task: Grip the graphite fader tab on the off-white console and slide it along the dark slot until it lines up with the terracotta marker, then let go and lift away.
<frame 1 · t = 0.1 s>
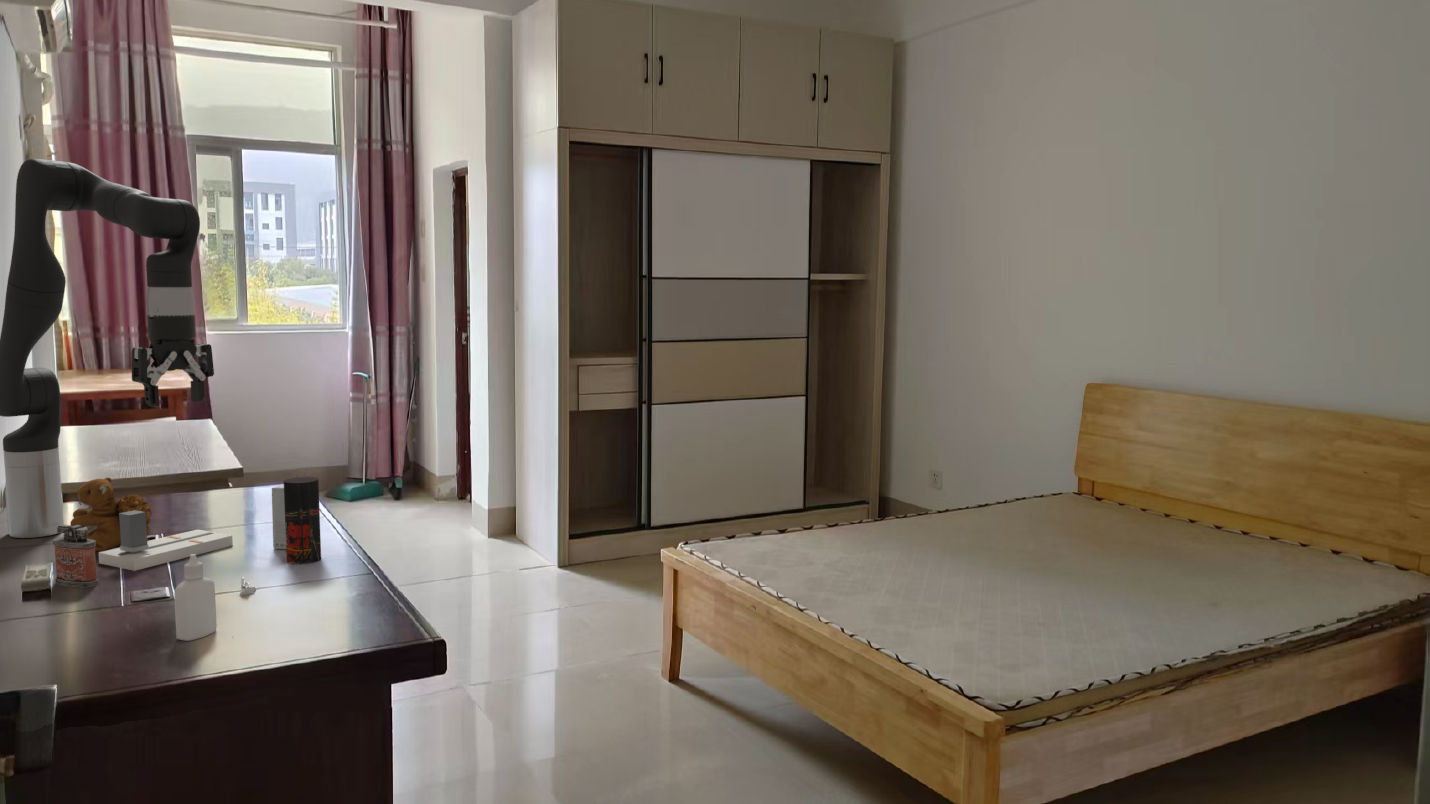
hand: (175, 403, 184), 29 cm above the table, fingers open, 8 cm apart
eye dropper bottle: (197, 636, 150), on the table
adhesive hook: (255, 596, 170), on the table
skincare box: (292, 546, 200), on the table
deodorant: (304, 560, 190), on the table
console: (168, 554, 193), on the table
stuffed squirrel: (115, 546, 200), on the table
lighter: (77, 584, 174), on the table
fader: (133, 531, 187), point 6 cm above the table, slide at 0.0 cm
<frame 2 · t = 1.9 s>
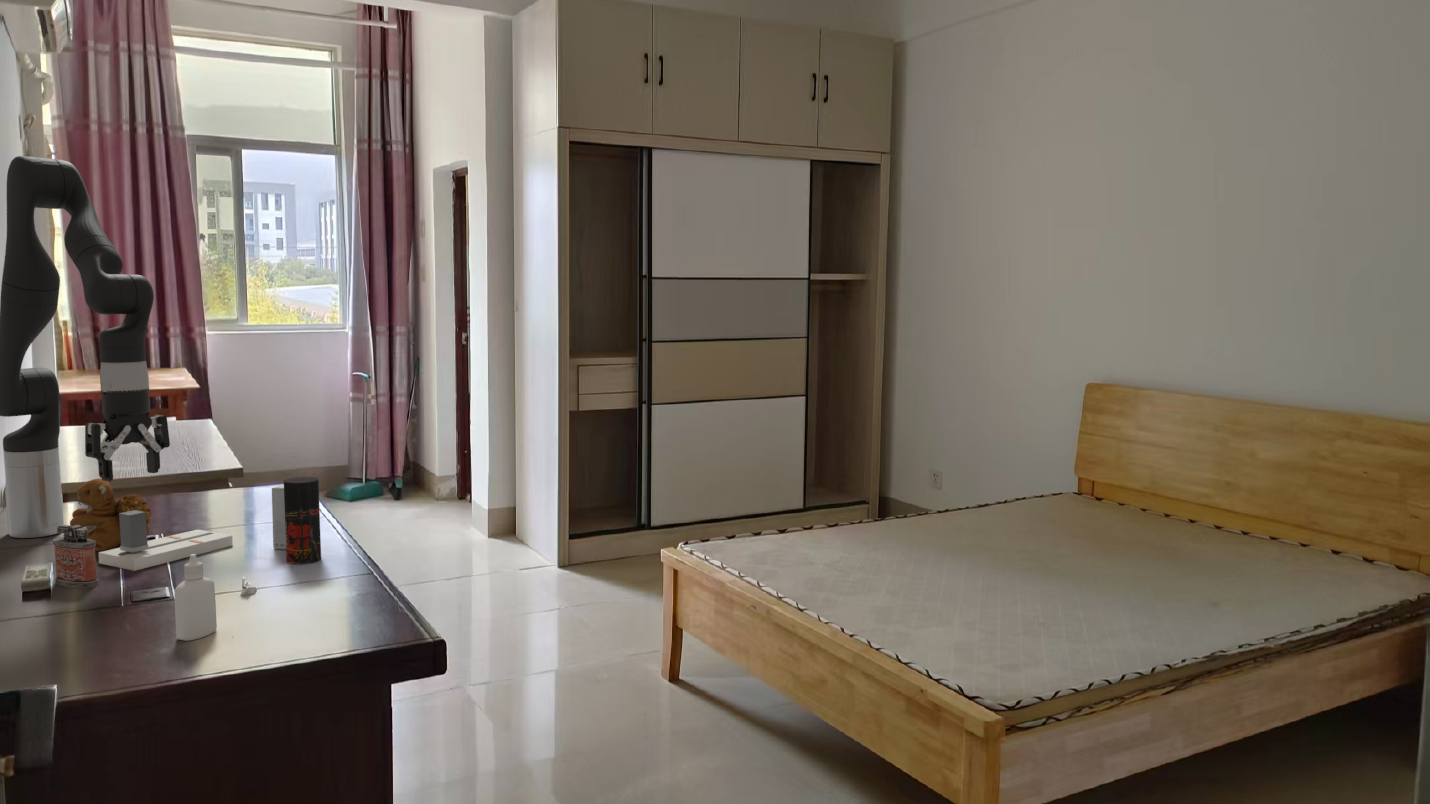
hand: (130, 476, 186), 16 cm above the table, fingers open, 8 cm apart
nothing on the table moved.
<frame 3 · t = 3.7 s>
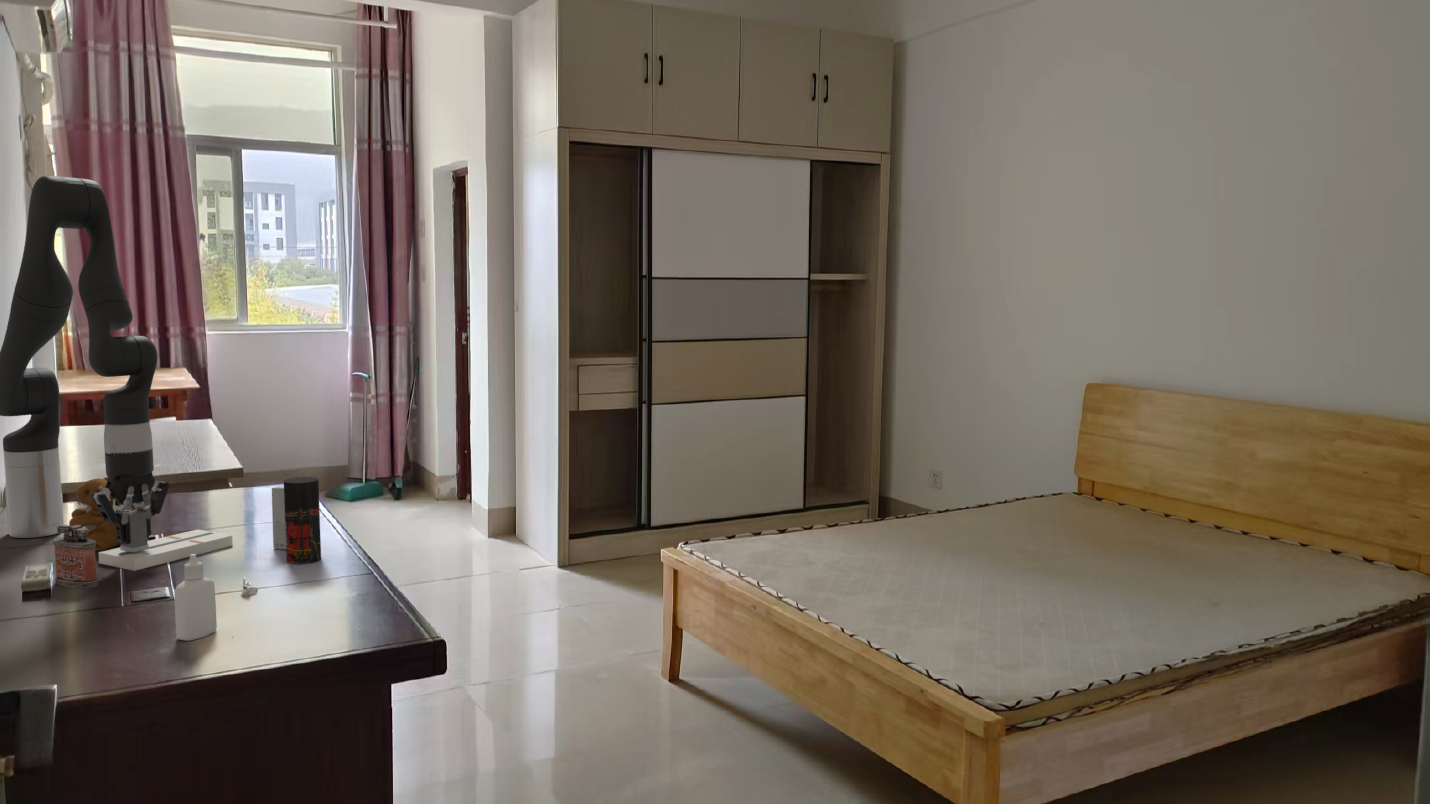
hand: (134, 541, 187), 4 cm above the table, fingers closed on fader, 3 cm apart
fader: (133, 531, 187), point 6 cm above the table, slide at 0.0 cm, touching gripper
everything else where it was.
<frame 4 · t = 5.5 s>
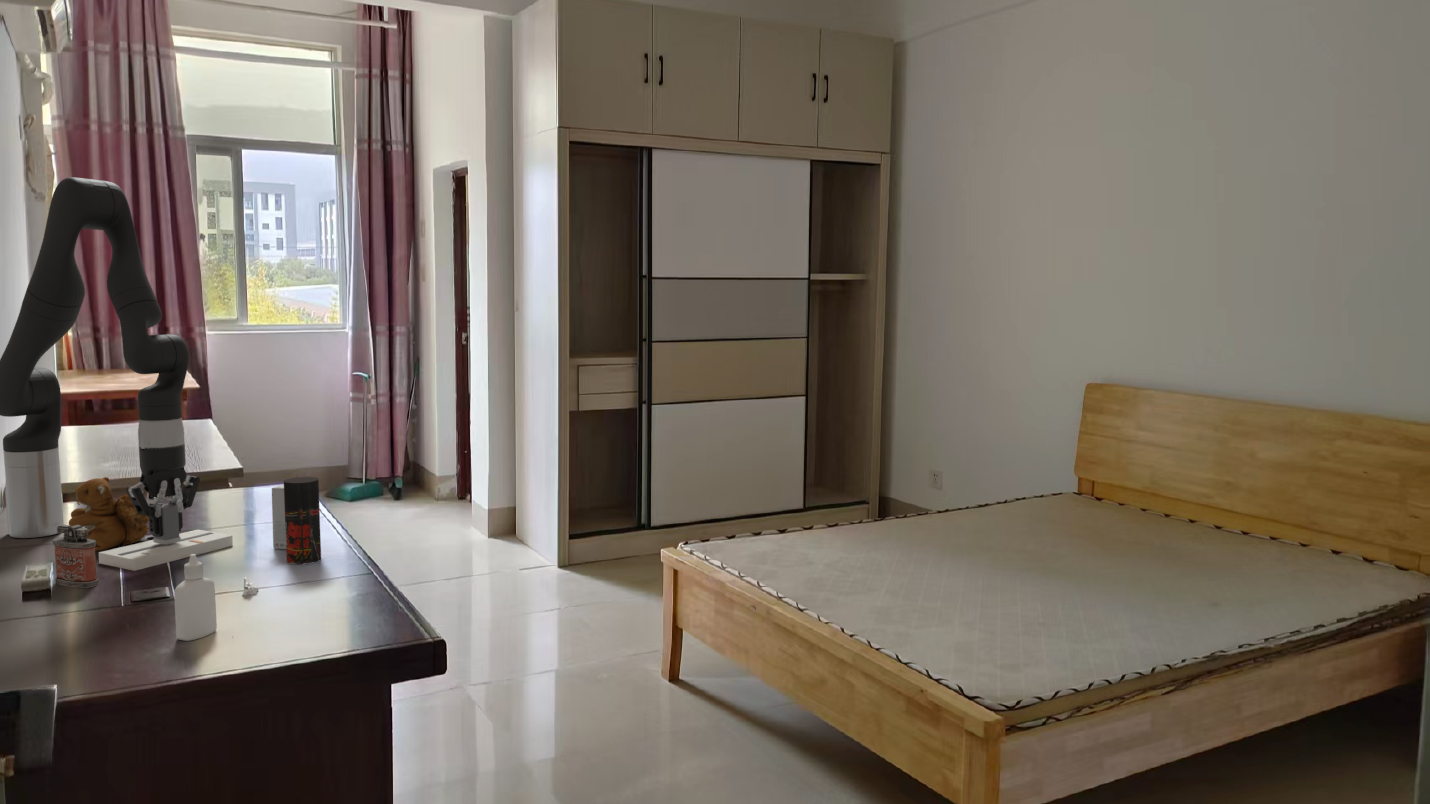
hand: (166, 533, 193), 4 cm above the table, fingers closed on fader, 3 cm apart
fader: (166, 523, 192), point 6 cm above the table, slide at 6.4 cm, touching gripper
everything else where it was.
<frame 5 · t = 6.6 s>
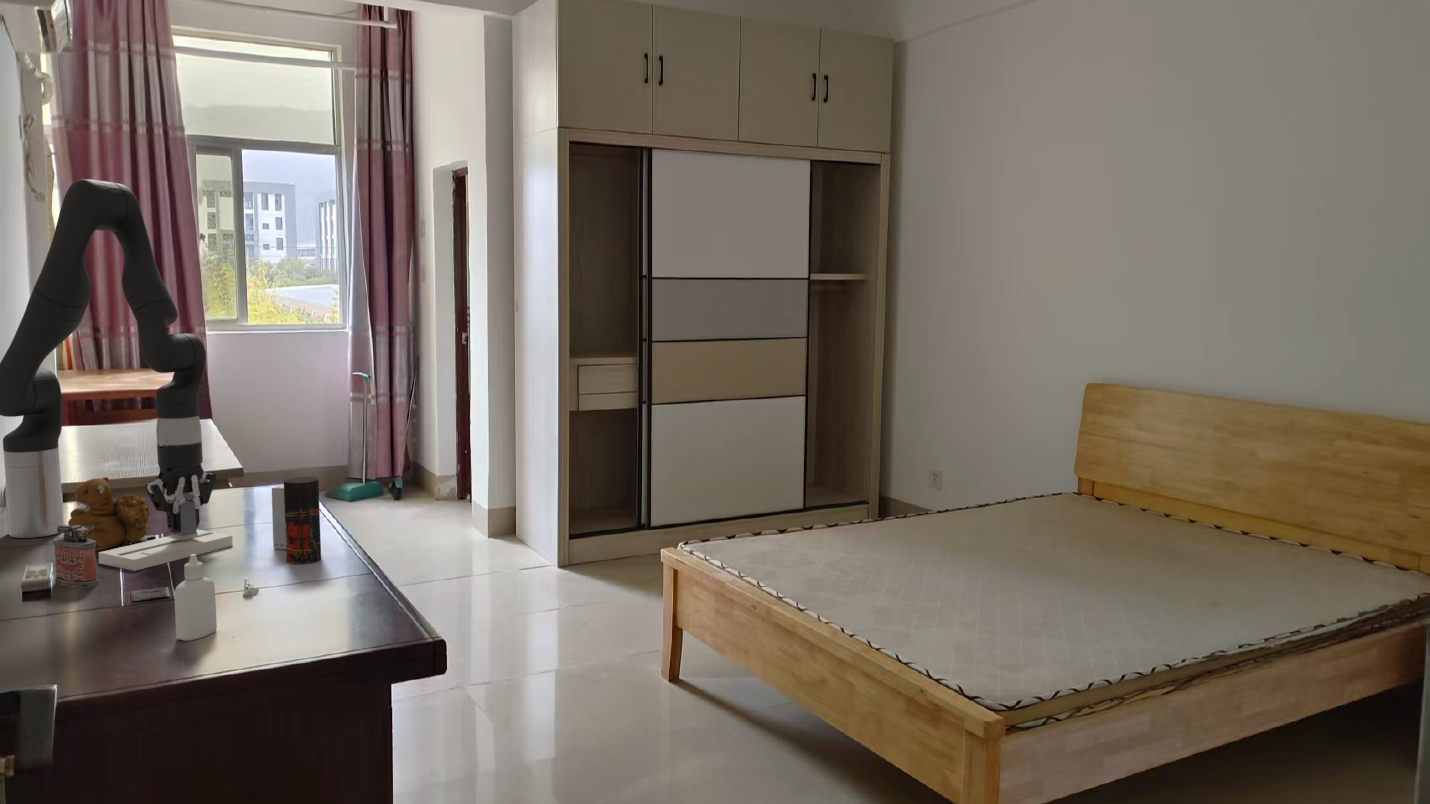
hand: (183, 529, 196), 4 cm above the table, fingers closed on fader, 3 cm apart
fader: (183, 520, 196), point 6 cm above the table, slide at 10.0 cm, touching gripper
everything else where it was.
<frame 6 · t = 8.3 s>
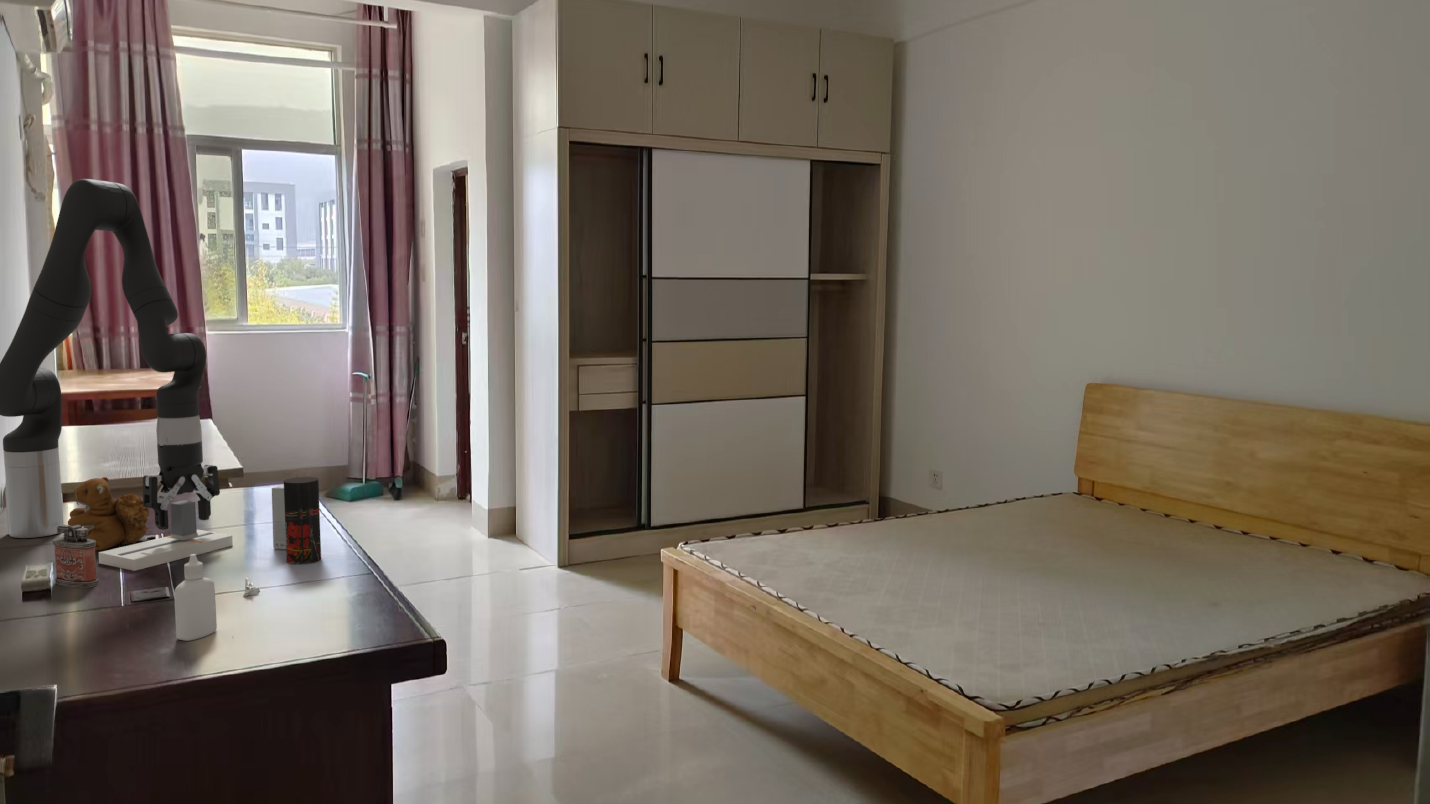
hand: (183, 524, 196), 5 cm above the table, fingers open, 8 cm apart
fader: (183, 520, 196), point 6 cm above the table, slide at 10.0 cm
everything else where it was.
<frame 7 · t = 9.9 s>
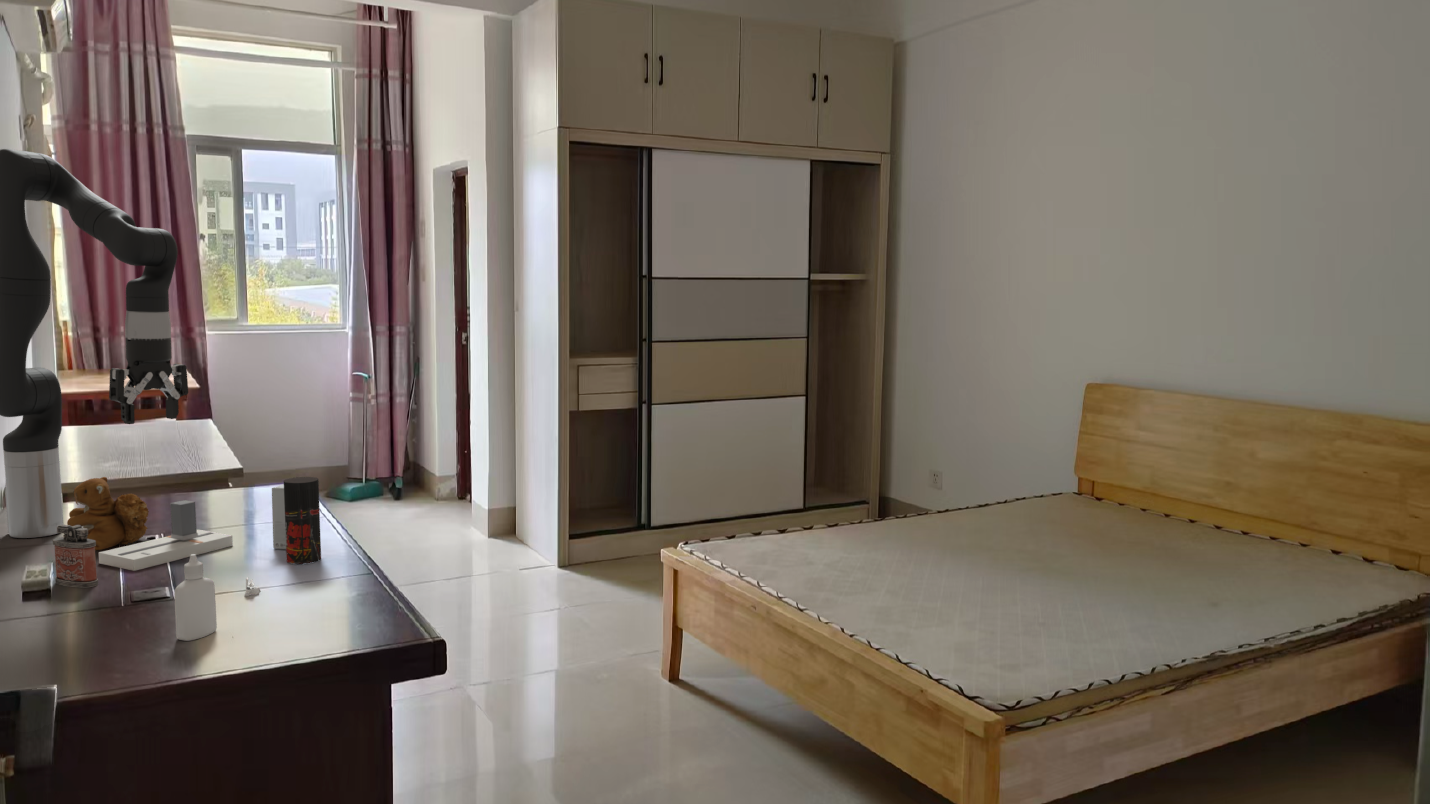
hand: (150, 421, 195), 24 cm above the table, fingers open, 8 cm apart
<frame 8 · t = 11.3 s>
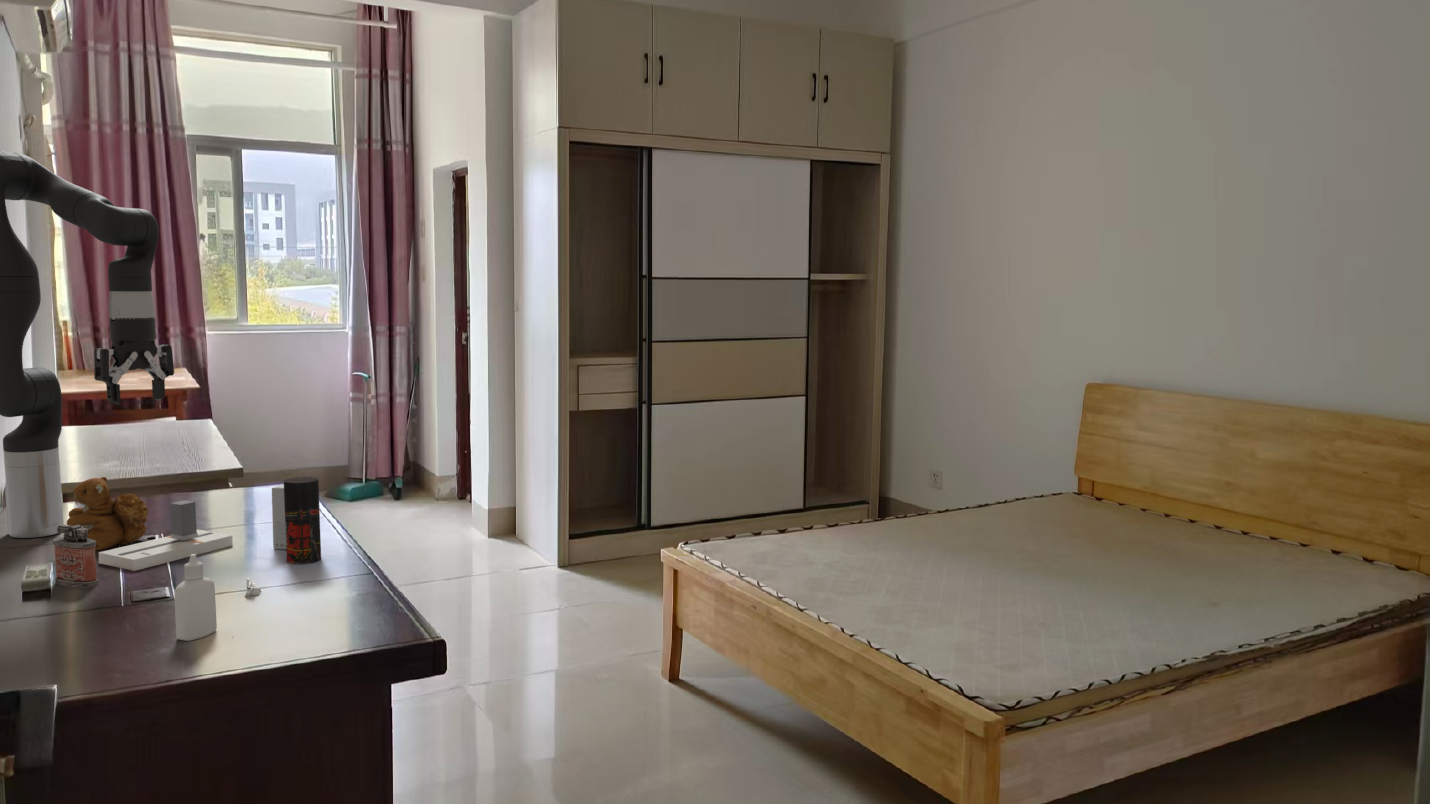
hand: (136, 401, 195), 28 cm above the table, fingers open, 8 cm apart
at the end: fader slide at 10.0 cm; the gripper is holding nothing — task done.
